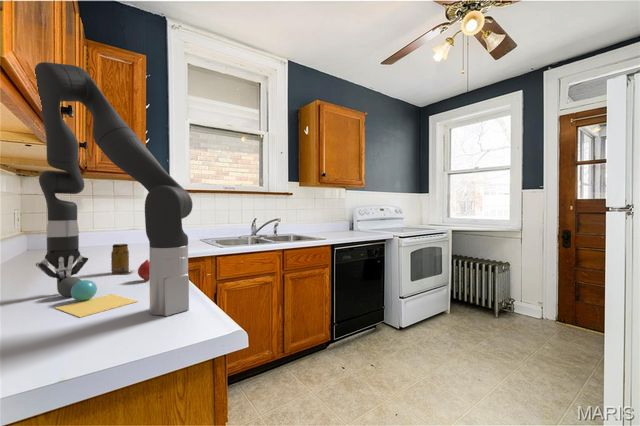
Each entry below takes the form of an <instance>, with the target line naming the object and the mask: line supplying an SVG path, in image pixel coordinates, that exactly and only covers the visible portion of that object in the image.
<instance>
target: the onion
mask: <svg viewBox="0 0 640 426" xmlns="http://www.w3.org/2000/svg"><path fill="white" fill-rule="evenodd" d="M137 274H138V276H139V277H140V279H143V280H144V281H146V282H148V281H150V262H149V259H146V260H145V261H144V262H143V263H141V264H140V266H139V267H138V270H137Z"/></svg>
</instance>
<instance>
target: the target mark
mask: <svg viewBox="0 0 640 426" xmlns="http://www.w3.org/2000/svg"><path fill="white" fill-rule="evenodd" d="M138 302H139V301H138V300H135V299H132V298H128V297H123V296H121V295H117V294H106V295H101V296H98V297H92V298H91V299H89V300H86V301H77V302H72V303H68V304H63V305H60V306H55V307H54V309H56V310H58V311H61V312H65V313H66V314H70V315H72V316H75V317H77V318H84V317H87V316H92V315H95V314H98V313H102V312H106V311H108V310H110V311H111V310H113V309H116V308H121V307H123V306H127V305H130V304H131V303H132V304H135V303H138ZM132 304H131V305H132Z"/></svg>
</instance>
